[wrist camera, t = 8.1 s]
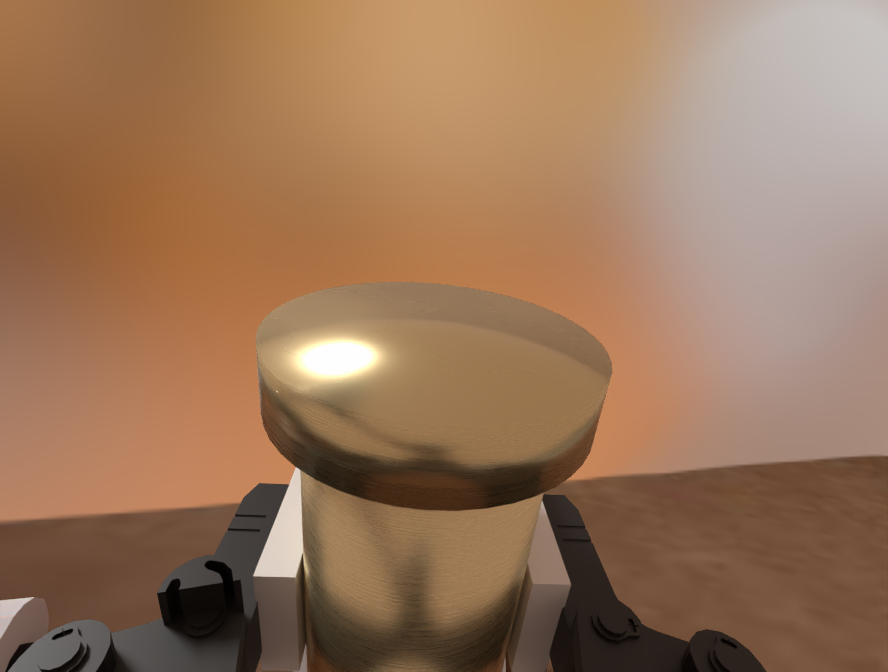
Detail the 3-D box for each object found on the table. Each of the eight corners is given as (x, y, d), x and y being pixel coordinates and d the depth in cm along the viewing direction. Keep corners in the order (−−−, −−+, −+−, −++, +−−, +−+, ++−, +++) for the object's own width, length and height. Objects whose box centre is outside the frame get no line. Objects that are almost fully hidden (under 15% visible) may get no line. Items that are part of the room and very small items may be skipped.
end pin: (245, 888, 10) (159, 383, 5) (333, 640, 15) (335, 270, 10) (492, 951, 9) (666, 462, 5) (496, 673, 15) (580, 302, 10)
